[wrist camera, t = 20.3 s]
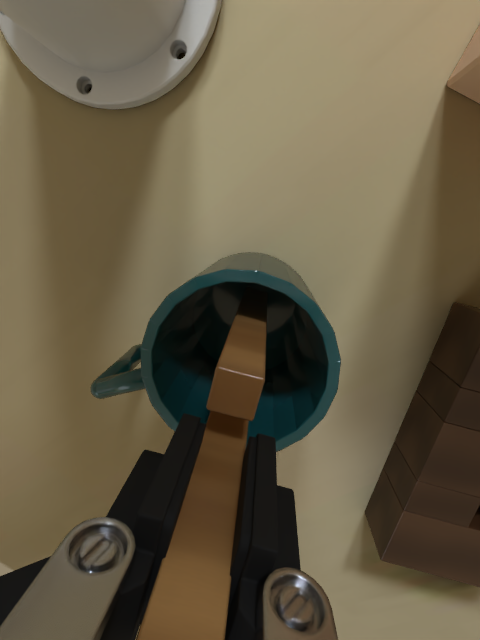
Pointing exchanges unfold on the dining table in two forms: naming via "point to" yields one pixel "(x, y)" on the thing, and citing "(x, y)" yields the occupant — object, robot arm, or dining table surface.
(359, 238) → the dining table surface
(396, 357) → the dining table surface
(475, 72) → the soap dispenser
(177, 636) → the stirrer
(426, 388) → the stirrer stand
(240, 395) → the stirrer
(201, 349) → the mug
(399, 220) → the dining table surface
